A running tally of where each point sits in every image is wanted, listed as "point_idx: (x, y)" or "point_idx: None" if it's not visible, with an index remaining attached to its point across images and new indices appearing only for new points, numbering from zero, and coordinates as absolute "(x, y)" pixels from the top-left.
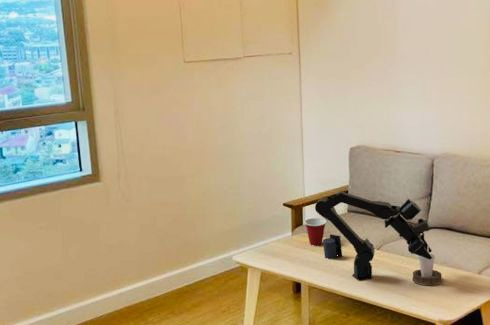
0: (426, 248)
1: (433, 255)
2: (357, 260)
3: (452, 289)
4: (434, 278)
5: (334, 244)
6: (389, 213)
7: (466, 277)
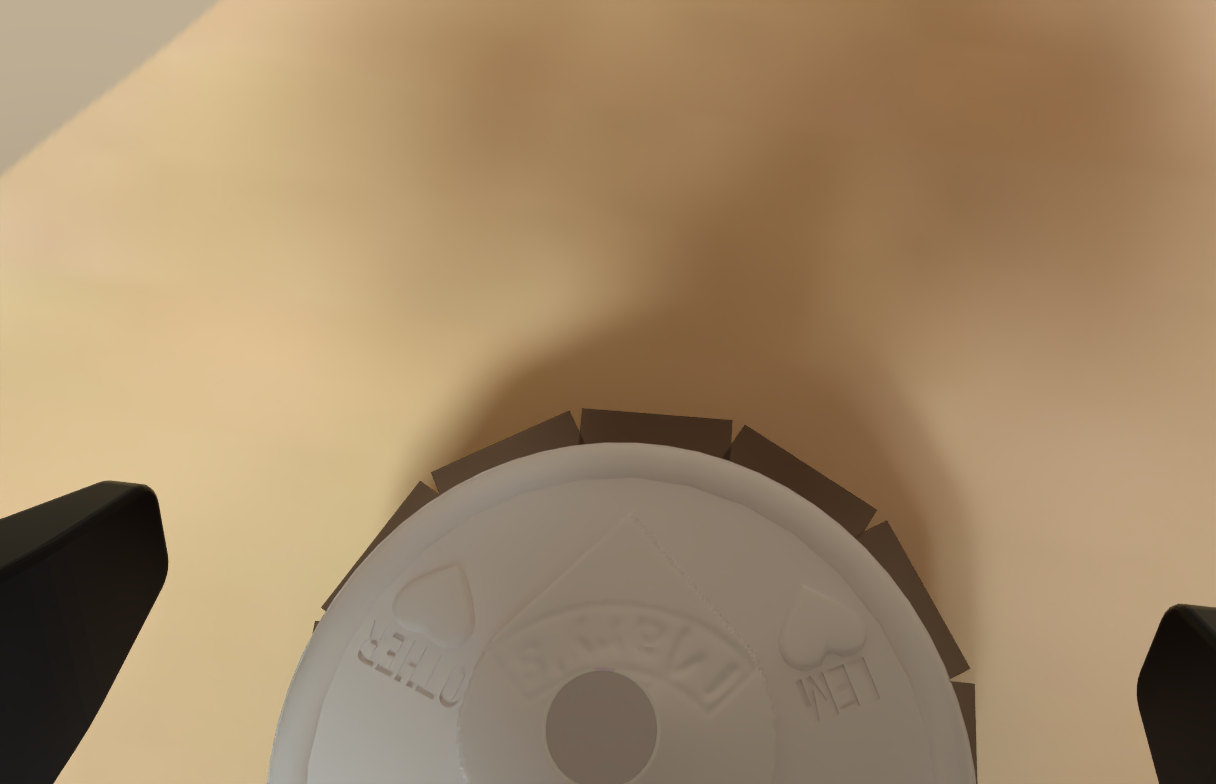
0: (1, 726)
1: (555, 478)
2: None
3: (1050, 323)
4: (927, 600)
5: None
6: None
7: (436, 42)
